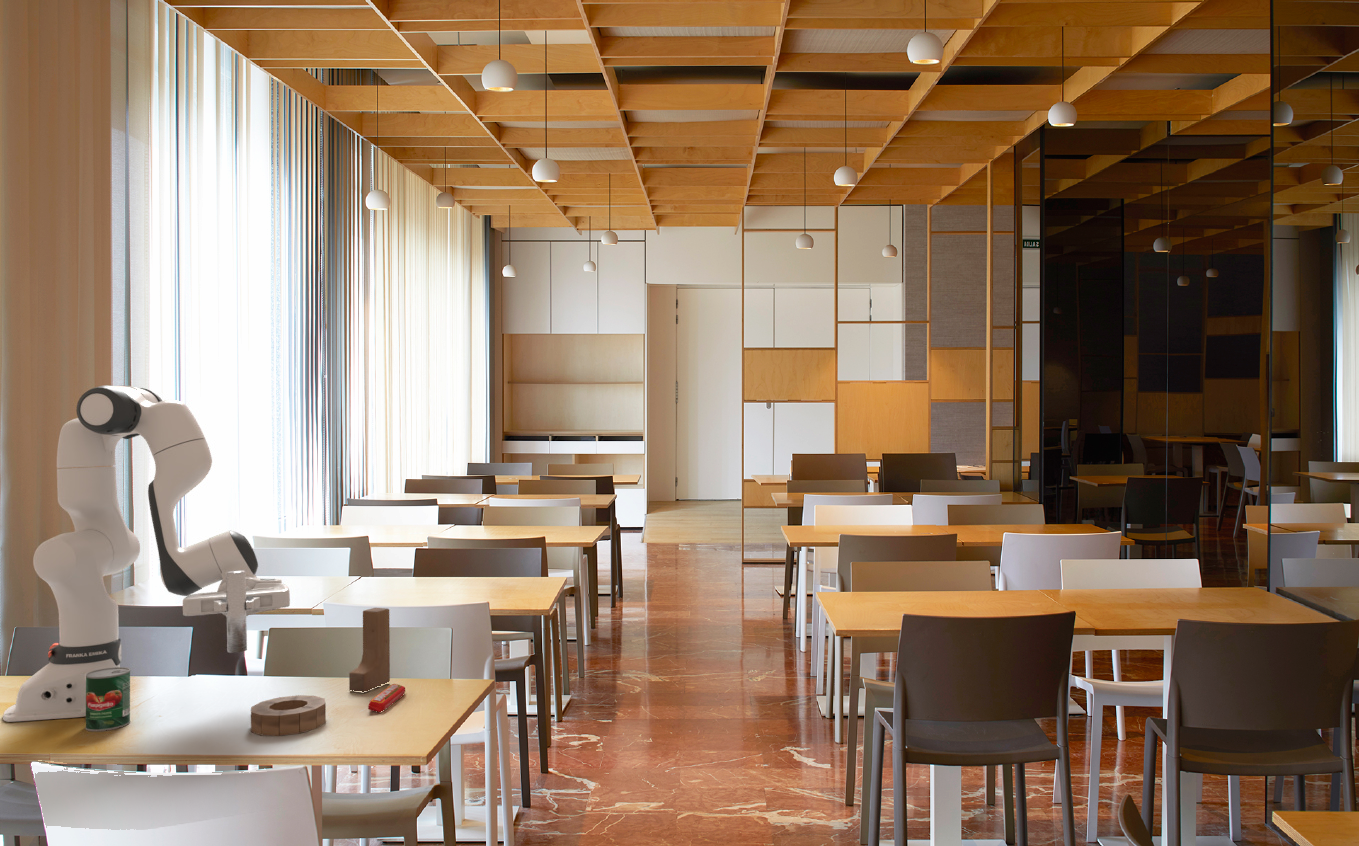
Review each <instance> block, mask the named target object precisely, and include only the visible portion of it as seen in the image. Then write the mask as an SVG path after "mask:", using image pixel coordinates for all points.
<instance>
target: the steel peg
mask: <svg viewBox="0 0 1359 846" xmlns="http://www.w3.org/2000/svg"><path fill="white" fill-rule="evenodd" d="M226 603H227V616H226V640H227V641H226V643H227V644H226V647H227V648H226V650H227V653H229V654H235V653H243V652H246V651H247V650H248V638H247V637H248V635H247V628H248V627H247V626H248V625H247V624H248V623H247V616H246V571H231V572H226Z"/></svg>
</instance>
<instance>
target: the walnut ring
mask: <svg viewBox="0 0 1359 846" xmlns="http://www.w3.org/2000/svg"><path fill="white" fill-rule="evenodd" d="M326 706H327V704H326V698H325V697H321V696H316V695H304V694H303V695H302V694H301V695H298V694H297V695H296V694H295V695H289V696H281V697H280V696H279V697H276V698H271V699H266V700H263V701H260V702H258V703H256V704H254V705H252V706H251V708H250V732H251V733H253V734H257V735H259V736H263V737H264V736H266V737H267V736H270V737H272V736H273V737H282V736H287V735H289V736H290V735H296V734H297V735H298V734H301V733H305V732H309V731H313V730H316V729H317V728H318V729H319V728H320V727H321V726H323V725H324V724H326V720H327V719H326V718H327V717H326V716H327V714H326V713H327V712H326V711H327V710H326Z"/></svg>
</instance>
